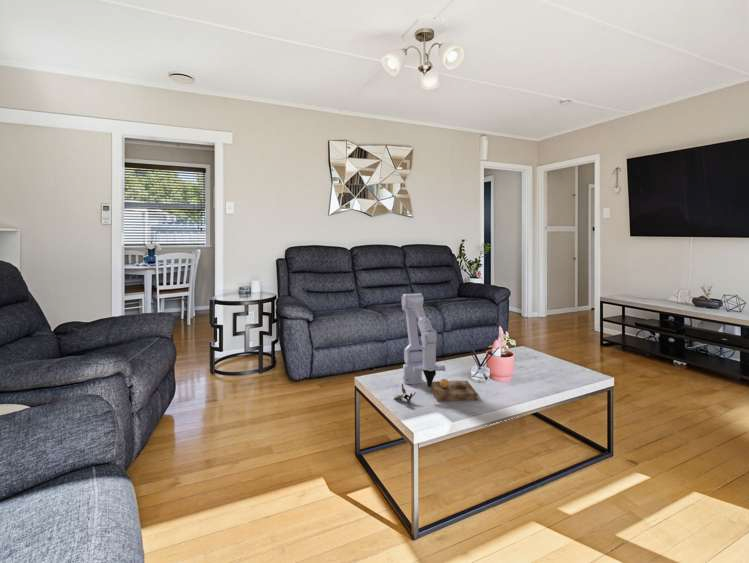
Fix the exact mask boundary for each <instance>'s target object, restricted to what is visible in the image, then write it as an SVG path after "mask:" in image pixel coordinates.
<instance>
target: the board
mask: <svg viewBox="0 0 749 563" xmlns="http://www.w3.org/2000/svg"><path fill="white" fill-rule="evenodd" d="M440 381H441V380H439V381H432V384H431V387H429V389H430V390H432V391H431V393H432V392H433V393H432V395H433V394H434V395H433V396H434V398H435V400H436V402H455V401H456V402H460V401H461V402H462V401H478V393H477V391H476V390H475V389H474V387H473V386H472V384H470V382H469V381H468V380H447V381H448V382H449V385H448V387H446V388H442V387H441V386H440Z"/></svg>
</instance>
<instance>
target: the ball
mask: <svg viewBox="0 0 749 563" xmlns="http://www.w3.org/2000/svg"><path fill="white" fill-rule="evenodd" d="M439 381H440V386H441V387H442V388H446V387H448V385H449V382H448V381H449V380H448V379H447V378H442V379H441V380H439Z"/></svg>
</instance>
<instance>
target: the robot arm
mask: <svg viewBox="0 0 749 563" xmlns="http://www.w3.org/2000/svg"><path fill="white" fill-rule="evenodd" d="M400 299H401V301H400V302H401V308H402V311H403V312H405V319H406V320H405V321H406V326H407V327H406V329H407V336H408V337H407V338H408V339H407V340H408V345H406V347H405V348H404V350H403V361H404V364H403V365H402V372H403V373H402V380H403V383H404V384H405V385H417V384H418V385H420V384H421V385H423V384H425V382H424V380H423V374H424V377H425V380H426V385H427V387H428V388H430V387H431V384H432V382H434V379H435V377H436V373H437V372H440V371H443V372H446V366H445V365H439V364H437V365H436V362H437V361H436V360H437V357H436V356H437V354H436V353H437V344H438V342H439V334H438V331H437V330H435V329H434V328H433V326H432V324H431V321H430V319H429V318H428V317H427V316H426V313H425V309H424V307H423V306H424V300H425V298H424V296H423V294H422V292H419V293H403V294H402V296H401V298H400ZM417 320H418V321H417ZM418 329H419V331H420V334H421V336H420V341H421V344H420V342H419V332H418Z"/></svg>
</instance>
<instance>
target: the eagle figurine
mask: <svg viewBox="0 0 749 563" xmlns="http://www.w3.org/2000/svg"><path fill="white" fill-rule="evenodd" d="M401 392H402V394H398V395H397V396H395V397H394V400H401V399H402V400H403V399H405V401H407V402H408V404H410V403H411V400H412V398H413V397H414V396H415V395H416V394H417V391H416V392H414V393H412V392H410V394H407V390H406V389H405V388H404V384H403V383H402V384H401Z"/></svg>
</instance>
